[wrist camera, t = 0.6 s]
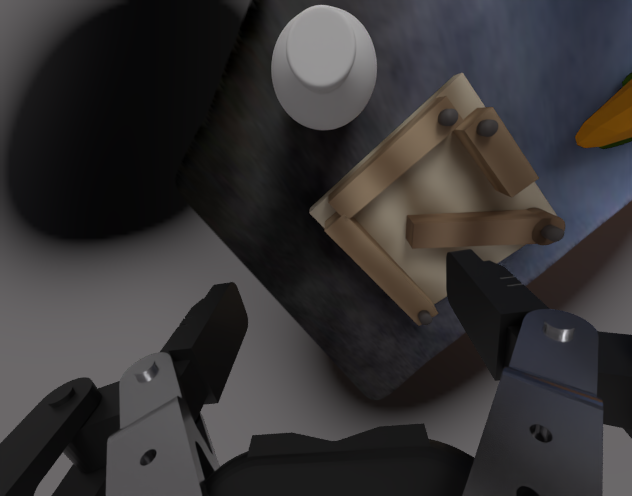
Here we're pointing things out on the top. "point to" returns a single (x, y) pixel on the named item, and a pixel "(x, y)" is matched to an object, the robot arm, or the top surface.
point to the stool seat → (428, 193)
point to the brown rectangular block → (484, 228)
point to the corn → (609, 121)
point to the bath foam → (324, 68)
